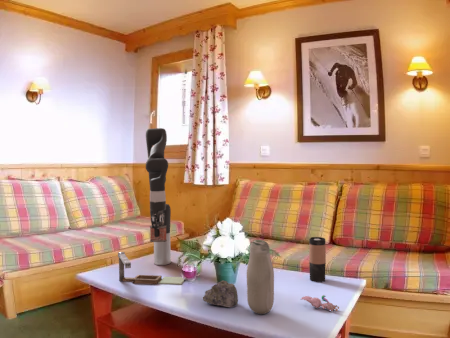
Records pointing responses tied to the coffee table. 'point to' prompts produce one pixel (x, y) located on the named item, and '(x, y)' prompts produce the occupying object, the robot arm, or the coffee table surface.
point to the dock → (138, 276)
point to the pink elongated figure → (317, 303)
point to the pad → (172, 280)
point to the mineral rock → (222, 294)
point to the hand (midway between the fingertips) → (158, 235)
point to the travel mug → (317, 259)
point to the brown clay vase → (260, 278)
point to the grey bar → (124, 259)
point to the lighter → (161, 233)
